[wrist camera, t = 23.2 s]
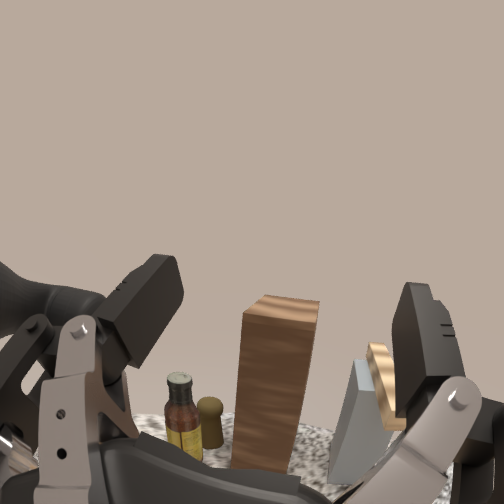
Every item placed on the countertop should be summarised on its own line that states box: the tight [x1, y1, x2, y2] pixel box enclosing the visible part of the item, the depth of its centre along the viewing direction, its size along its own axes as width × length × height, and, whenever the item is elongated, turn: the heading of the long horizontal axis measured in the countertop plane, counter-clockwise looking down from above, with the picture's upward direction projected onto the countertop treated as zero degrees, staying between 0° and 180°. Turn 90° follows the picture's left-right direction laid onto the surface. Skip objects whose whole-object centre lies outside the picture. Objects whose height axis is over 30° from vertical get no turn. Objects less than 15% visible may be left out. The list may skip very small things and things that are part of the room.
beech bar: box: [366, 342, 406, 431], centre depth 36 cm, size 24×3×3 cm, turn 165°
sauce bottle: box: [164, 372, 203, 462], centre depth 41 cm, size 6×6×20 cm
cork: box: [197, 397, 224, 449], centre depth 49 cm, size 6×6×11 cm
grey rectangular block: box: [327, 359, 394, 485], centre depth 41 cm, size 12×8×22 cm, turn 165°
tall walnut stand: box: [231, 295, 319, 474], centre depth 45 cm, size 14×10×32 cm
